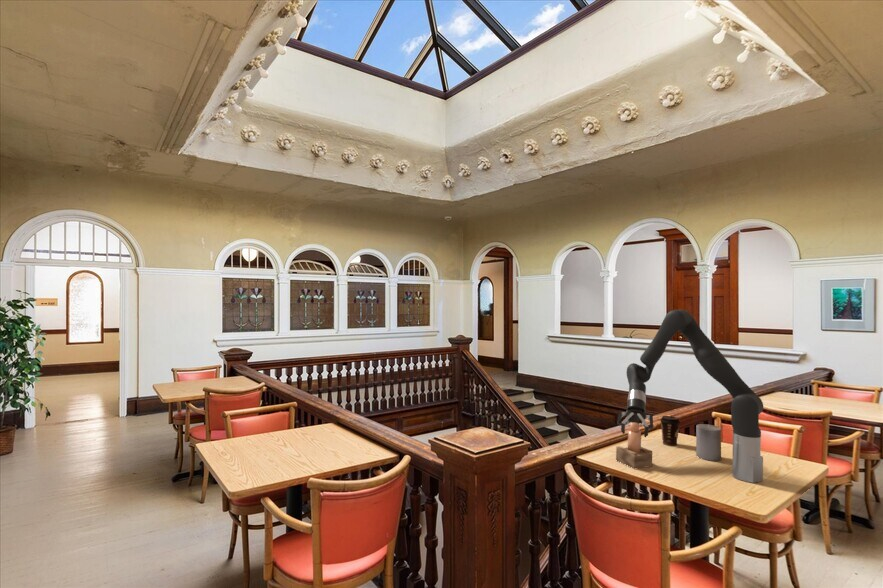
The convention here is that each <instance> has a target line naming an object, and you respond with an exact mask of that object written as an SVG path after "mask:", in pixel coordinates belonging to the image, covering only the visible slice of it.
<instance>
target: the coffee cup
mask: <svg viewBox="0 0 883 588" xmlns="http://www.w3.org/2000/svg"><path fill="white" fill-rule="evenodd" d="M659 421H660V426H661V438H662V444H663V445H665V446H670V447H675V446H678V439H679V431H680V423H681V421H680V419H679V418H678V417H675V416H672V415H662V416H661V418H660V420H659Z"/></svg>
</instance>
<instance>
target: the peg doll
mask: <svg viewBox="0 0 883 588" xmlns="http://www.w3.org/2000/svg"><path fill="white" fill-rule="evenodd" d="M629 424H630V426H629V428H630V429H628V430H627V448H628V450H630V451H633V452H635V453H637V454H638V453H641V447H642V431H640V423H636V422H630V423H629Z"/></svg>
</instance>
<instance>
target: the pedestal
mask: <svg viewBox="0 0 883 588" xmlns="http://www.w3.org/2000/svg"><path fill="white" fill-rule="evenodd" d="M615 452H616V453H615V455H616V456H615V457H616V458H615V461H616V460H617V461H616V462H618V461H619V462H618V463H620V462H621V463H620V464H622V463H623V464H622V465H624V464H626V465H625V466H627V465H628V466H627V467H629V466H630V468H631V467H632V468H631V469H633V468H637V469H641V467H643V468H647V467H646V466H649V467H652V466H653V450H650V449H648V448H646V447H642V446H641V453H638V454H637V453H635V452H633V451H630V450H628V447H622V446H620V445H617V446H616V449H615Z"/></svg>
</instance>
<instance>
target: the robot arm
mask: <svg viewBox="0 0 883 588" xmlns="http://www.w3.org/2000/svg"><path fill="white" fill-rule="evenodd" d="M678 332H680V333H681V334H682V335H683V336H684V338H685V339H686V340H687V341H688V342H689V344H690V346H691V350H692V352H693V355H694V356H695V357H694V358H695V359H696V360H697V362H698V363H699V364H700V366H701V367H702V368H703V370H704V371H705V372H706V373H707V374H708V375H709V376H710V377H711V378H712V379H714V380H715V381H716V382H717V383H719V384H720V385H721V386H722V387H724V389H726V391H727V392H728V393H729V394H730V396H731V397H732V398H733V399H732V400H731V405H730V414H731V415H730V417H731V420H730V421H731V427H732V459H731V460H732V463H731V464H732V469H731V470H732V471H731V473H732V474H731V476H732V477H734V479H737V480H740V481H743V482H746V483H747V482H748V483H752V484H754V483H760V482H763V481H764V479H763V476H764V457H763V456H762V455H761V449H762V447H761V446H762V445H761V444H762V441H761V440H762V438H761V437H762V430H761V428H760V426H759V424H760V423H759V422H760V421H759V420H760V417H759V415H760V414H761V413H762V412H763V410H764V404H763V403H764V402H763V400H762V399H761V397H760V396H759V395H758V394H757V393H756V392H755V391H754V390H752V389H751V387H750V386H748V384H746V382H745V381H744V380H743V379H742V378H741V376H740V375H739V373H738V372H737V371H736V370H735V368H734V367H733V366H732V365H731V364H730V362H729V361H728V360H727V358H726V357H725V356H724V355H723V354H722V352H721V351H720V350H719V348H717V346H716V345H715V344H714V343H713V341H711V340H710V338H709V337H708V336H707V335H706V333H704V331H703V330H702V329H701V327H700V326H699V324H698V323H697V320H696V319H695V318H694V316H693V315H692V314H691V313H690V312H689V311H687V310H685V309H672V310H670V311H668V312H667V313H666V315H665V316H664V319H663V321H662V322H661V325H660V327H659V328H658V331H657V332H656V334H655V336H654V337H653V338H652V340H651V342H650V343H649V345H648V346H647V347H646V348H645V350H644V351H643V353H642V354H641V355H640V358H639V359H640V360H639V361H640V362H641V363H642V364H643V365H644V366H642V365H640V364H637V363H630V364H629V365H628V366H627V367H626V378H627V382H628V386H629V387H628V395H627V402H626V403H627V404H626V411H622V410H620V409H619V411H618V415H617V420H616V421H617V425H618V426H621V427H620V432H621V433H622V435H625V433H626V426H627V425H629V424H630V423H631V422H636V423H639V424H640V425H641V426H642V427H643V428H644V430H643V431H644V432H643V435H644V436H643V438H647V437H648V436H649V430H653V429H654V417H653V414H652V413H650V414H646V405H647V397H646V392H647V387H646V384H645V383H647V382H649V380H650V379H651V376H652V373H653V370H654V368H655V366H656V364H657V363H658V362H659V361H660V359H661V357H662V356H663V355H664V353H665V350H666V348H667V345H668V343H669V342H670V340H671V339H672V338H673V337H674V336H675V335H676V334H677V333H678ZM622 418H623V420H622ZM646 419H647V420H648V421H649V424H648V423H647V422H646Z"/></svg>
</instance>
